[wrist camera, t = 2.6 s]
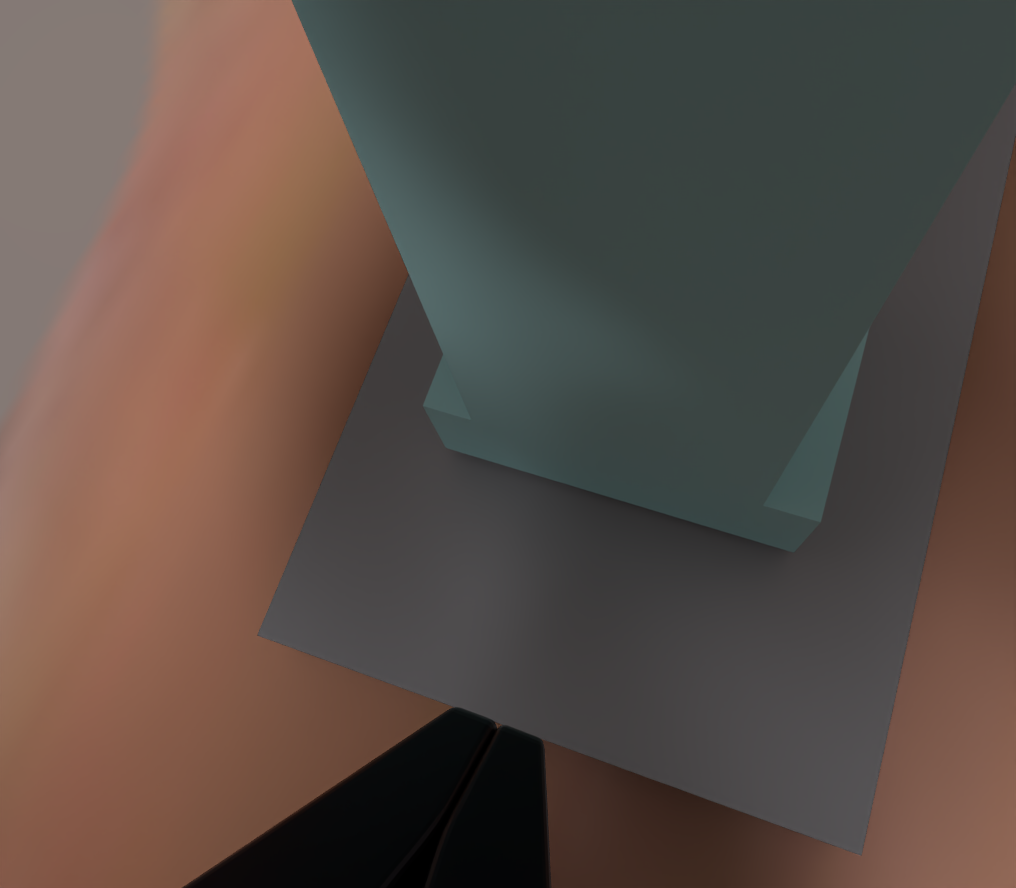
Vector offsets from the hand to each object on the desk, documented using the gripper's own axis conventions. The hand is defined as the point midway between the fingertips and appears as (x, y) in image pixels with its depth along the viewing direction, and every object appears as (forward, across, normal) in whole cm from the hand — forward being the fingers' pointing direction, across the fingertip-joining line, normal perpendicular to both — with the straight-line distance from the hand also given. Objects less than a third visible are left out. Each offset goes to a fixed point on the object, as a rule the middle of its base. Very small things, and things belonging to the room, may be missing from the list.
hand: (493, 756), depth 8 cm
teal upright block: (+11, 0, -2) cm, 11 cm away
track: (+14, 0, -3) cm, 14 cm away
